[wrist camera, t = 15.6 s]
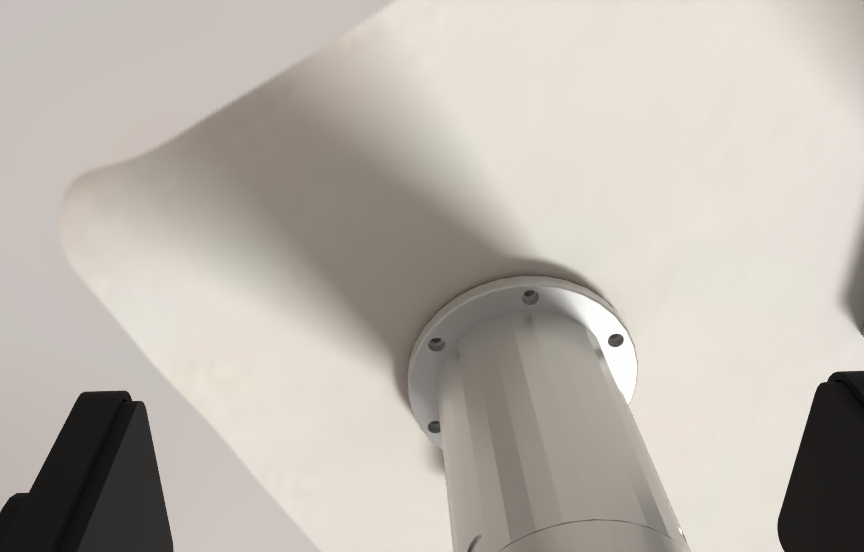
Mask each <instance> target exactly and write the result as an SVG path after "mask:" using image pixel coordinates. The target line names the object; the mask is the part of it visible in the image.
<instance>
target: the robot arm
mask: <svg viewBox="0 0 864 552" xmlns="http://www.w3.org/2000/svg"><path fill="white" fill-rule="evenodd" d="M529 290H531V291H530V292H526V291H529ZM435 338H436V339H435ZM637 373H638V360H637V355H636V350H635V345H634V343H633V341H632V338H631V336H630V334H629V331H628V329H627V327H626V326H625V324H624V323H623V321H622V319H621V318H620V316H619V314H618V313H617V312H616V311H615V310H614V309H613V308H612V307H611V306H610V305H609V304H608V303H607V302H606V301H605V300H604V299H603V298H601V297H600V296H598V295H597V294H595V293H594V292H592V291H590V290H589V289H587V288H585V287H582V286H580V285H577V284H575V283H572V282H570V281H567V280H562V279H557V278H552V277H547V276H518V277H511V278H504V279H499V280H495V281H492V282H489V283H486V284H483V285H480V286H477V287H475V288H473V289H471V290H469V291H467V292H465V293H463V294H461V295H459V296H457V297H456V298H455V299H454V300H452V301H451V302H450V303H448V304H447V305H446V306H444V307H443V308H442V309H440V310H439V311H438V312H437V313H436V315H435V316H434V317H433V318H432V319H431V320H430V321H429V322H428V323H427V324H426V326H425V327H424V329H423V331H422V332H421V334H420V335H419V337H418V339H417V340H416V342H415V345H414V348H413V351H412V353H411V356H410V359H409V366H408V375H407V382H408V397H409V401H410V405H411V409H412V413H413V415H414V417H415V419H416V421H417V423H418V424H419V426H420V428H421V430H422V431H423V432H424V433H425V434H426V436H427V437H428V438H429V439H430V440H431V441H432V442H433V443H434V444H435V445H436V446H438V447H439V448H440V449H441V450H443V457H444V466H445V476H446V486H447V496H448V505H449V515H450V525H451V535H452V544H453V552H691V551H690V549H689V546H688V544H687V542H686V539H685V537H684V535H683V532H682V530H681V528H680V525H679V523H678V521H677V518H676V516H675V514H674V511H673V509H672V507H671V504H670V502H669V499H668V497H667V495H666V492H665V490H664V488H663V485H662V483H661V481H660V478H659V476H658V474H657V471H656V469H655V467H654V464H653V462H652V460H651V457H650V455H649V452H648V450H647V448H646V445H645V443H644V441H643V438H642V436H641V434H640V431H639V429H638V427H637V424H636V422H635V420H634V417H633V415H632V413H631V410H630V408H629V406H628V405H629V404H630V402H631V400H632V397H633V394H634V390H635V387H636V383H637ZM778 536H779V540H780V543H781V546H782V548H783V550H784V552H864V371H844V372H835V373H833V374H832V375H831V376H830V377H829V379H828V381H827V382H824V383H821V384H820V385H819V386H818V387H817V390H816V392H815V396H814V399H813V403H812V406H811V409H810V413H809V416H808V420H807V423H806V426H805V430H804V433H803V437H802V440H801V443H800V447H799V450H798V454H797V457H796V460H795V464H794V467H793V471H792V474H791V477H790V481H789V484H788V488H787V491H786V494H785V498H784V501H783V505H782V508H781V511H780V515H779V518H778ZM0 552H173V541H172V536H171V531H170V526H169V521H168V516H167V511H166V507H165V501H164V496H163V491H162V486H161V481H160V476H159V471H158V466H157V461H156V456H155V451H154V446H153V441H152V436H151V431H150V426H149V421H148V417H147V412H146V407H145V405H144V403H143V402H142V401H132V399H131V396H130V394H129V393H128V392H127V391H98V392H83V393H81V394H80V396H79V397H78V399H77V401H76V402H75V404H74V406H73V408H72V410H71V412H70V414H69V416H68V418H67V420H66V422H65V424H64V426H63V428H62V430H61V431H60V433H59V435H58V437H57V439H56V441H55V443H54V445H53V447H52V449H51V451H50V453H49V455H48V457H47V459H46V461H45V462H44V465H43V466H42V468H41V470H40V472H39V474H38V476H37V478H36V480H35V482H34V484H33V486H32V488H31V490H30V492H29V493H17V494H15V495H13V496H12V497H10V498H9V500H8V501H7V502H6V504H5V505H4V507H3V508H2V510H1V512H0Z"/></svg>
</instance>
